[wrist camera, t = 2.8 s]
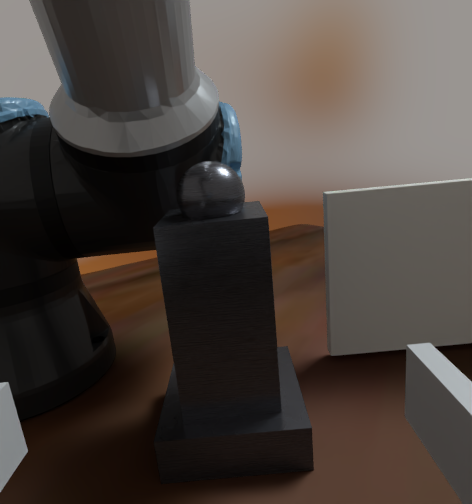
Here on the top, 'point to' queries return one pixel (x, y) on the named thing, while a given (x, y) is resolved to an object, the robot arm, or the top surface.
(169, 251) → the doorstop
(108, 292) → the top surface
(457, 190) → the door
